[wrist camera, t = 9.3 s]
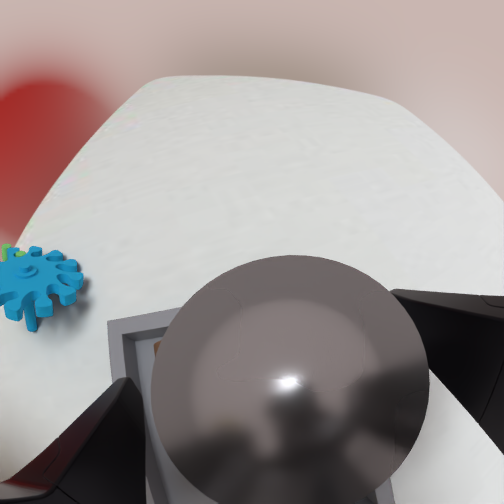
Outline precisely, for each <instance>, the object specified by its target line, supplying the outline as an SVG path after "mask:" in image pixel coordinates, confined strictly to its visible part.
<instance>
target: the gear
mask: <svg viewBox="0 0 504 504" xmlns="http://www.w3.org/2000/svg"><path fill="white" fill-rule="evenodd" d="M2 258H3V261H5V262H0V306H2V305H4V310H5V315H6V317H7V318H8V319H10V320H14V321H20V320H21V319H22V317H23V310H24V314H25V320H26V325H27V330H28V331H30V332H34V331H36V330H37V322H36V316H35V310H36V315H37V317H50V316H53V304H52V301H51V299H49V298H48V295H50V294H53V293H54V294H58V295H59V297H60V303H61V304H62V305H64V306H67V305H70V304H72V303H74V302H75V301H76V290H79V289H81V287H82V286H83V273H80V272H77V262H76V260H74V259H69V260H65V261H63V254H62V253H61V252H59V251H58V250H53V251H51V252H50V253H48V254H46V255H44V256H42V248H40V247H36V246H32V247H30V248H29V252H28V253H27V254H26V252H24V251H20V250H19V248H11V245H10V244H3V245H2ZM62 283H66V284H68V285H69V286H66V285H64V284H62ZM34 301H35V308H34Z"/></svg>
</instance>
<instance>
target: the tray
mask: <svg viewBox="0 0 504 504" xmlns="http://www.w3.org/2000/svg"><path fill="white" fill-rule="evenodd" d="M181 308H182V307H180V308H175V309H170V310H164V311H159V312H154V313H149V314H144V315H138V316H133V317H127V318H122V319H116V320H110V321H107V325H108V342H109V355H110V365H111V375H112V383H114V382H115V381H116V380H117V379H118V378H122V377H127V376H128V377H130V378H131V379H132V380H133V382H134V383H135V385H136V387H137V388H138V390H139V391H140V393H141V395H142V398H143V407H144V420H145V432H146V501H147V504H219V503H217V502H215V501H214V500H212V499H210V498H208V497H207V496H206V495H204V494H203V493H202V492H200V491H199V490H198V489H197V488H195V487H194V486H193V485H192V484H191V483H190V482H189V481H188V480H187V479H186V478H185V477H184V476H183V475H182V474H181V473H180V472H179V470H178V469H177V468H176V466H175V465H174V464H173V462H172V461H171V459H170V458H169V456H168V454H167V452H166V451H165V449H164V447H163V445H162V443H161V441H160V438H159V435H158V432H157V429H156V426H155V423H154V418H153V413H152V407H151V389H150V388H151V378H152V370H153V365H154V361H155V353H154V346H153V345H154V344H155V343H156V342H158V341H160V340H162V338H163V336H164V334H165V332H166V330H167V328H168V327H169V325H170V323H171V321H172V320H173V319H174V317H175V316H176V315H177V313H178V312H179V310H180V309H181ZM354 504H395V501H394V496H393V491H392V485H391V481H390V477H389V478H388V479H387V480H386V481H385V482H384V483H383V484H382V485H380V486H379V487H378V488H377V489H376V490H374V491H373V492H372V493H370V494H369V495H367V496H365V497H364V498H362V499H361V500H359V501H357V502H356V503H354Z"/></svg>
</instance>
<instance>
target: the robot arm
mask: <svg viewBox="0 0 504 504" xmlns="http://www.w3.org/2000/svg"><path fill="white" fill-rule="evenodd" d="M389 292H390V293H391V294H392V295H393V296H394V297H395V298H396V299H397V300H398V301H399V302H400V304H401V305H402V306H403V307H404V308H405V310H406V311H407V313H408V314H409V316H410V317H411V319H412V320H413V322H414V324H415V326H416V328H417V330H418V332H419V334H420V337H421V340H422V343H423V346H424V349H425V352H426V357H427V362H428V367H429V369H430V370H431V371H432V372H433V373H434V374H435V375H436V377H437V378H438V379H439V380H440V381H441V382H442V383H443V384H444V385H445V386H446V388H447V389H448V390H449V391H450V392H451V393H452V394H453V395H454V396H455V398H456V399H457V400H458V401H459V402H460V403H461V404H462V406H463V407H464V408H465V409H466V410H467V411H468V412H469V414H470V415H471V416H472V417H473V418H474V419H475V421H476V422H477V423H479V425H480V427H481V428H482V429H483V430H484V431H485V433H486V434H487V435H488V436H489V437H490V439H491V440H492V441H493V442H494V443H495V445H496V446H497V447H498V448H499V450H500V451H501V452H502V453H503V455H504V296H487V295H480V296H479V295H471V294H457V293H443V292H430V291H417V290H405V289H393V290H391V291H389ZM0 504H147V501H146V432H145V420H144V407H143V398H142V395H141V393H140V391H139V390H138V388H137V387H136V385H135V383H134V382H133V380H132V379H131V378H130V377H128V376H127V377H122V378H118V379H117V380H116V381H115V382H114V383H113V384H112V385H111V386H110V387H109V388H108V389H107V390H106V391H105V392H104V393H103V394H102V395H101V396H100V397H99V398H98V399H97V400H95V401H94V402H93V403H92V404H91V405H90V406H89V407H88V408H87V409H86V410H85V411H84V412H83V413H82V414H81V415H80V416H79V417H78V418H77V419H76V420H75V421H74V422H73V423H72V424H71V425H70V426H69V427H68V428H67V429H66V430H65V431H64V432H63V433H62V434H61V435H60V436H59V438H56V439H55V440H54V441H53V442H52V443H51V444H50V445H49V446H48V447H47V448H46V449H45V450H44V451H43V452H42V453H40V454H39V455H38V456H37V457H36V458H35V459H33V460H32V461H31V462H30V463H29V464H27V465H26V466H25V467H24V468H22V469H21V470H20V471H19V472H18V473H16V474H15V475H14V476H13V477H11V478H10V479H8V480H6V481H3V482H0Z"/></svg>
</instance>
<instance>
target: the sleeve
mask: <svg viewBox="0 0 504 504" xmlns="http://www.w3.org/2000/svg"><path fill="white" fill-rule="evenodd" d="M429 385H430V384H429V367H428V362H427V357H426V352H425V349H424V346H423V343H422V340H421V337H420V334H419V332H418V330H417V328H416V326H415V324H414V322H413V320H412V319H411V317H410V316H409V314H408V313H407V311H406V310H405V308H404V307H403V306H402V305H401V304H400V302H399V301H398V300H397V299H396V298H395V297H394V296H393V295H392V294H391V293H390V292H389V291H388V290H387V289H386V288H385V287H383V286H382V285H381V284H380V283H378V282H377V281H375V280H374V279H372V278H371V277H370V276H368V275H366V274H364V273H362V272H361V271H359V270H357V269H355V268H353V267H350V266H348V265H345V264H342V263H340V262H337V261H333V260H329V259H325V258H320V257H312V256H300V255H286V256H277V257H269V258H265V259H260V260H256V261H252V262H249V263H246V264H244V265H241V266H238V267H236V268H234V269H232V270H230V271H227V272H225V273H223V274H221V275H220V276H218V277H217V278H215V279H214V280H212V281H210V282H209V283H207V284H206V285H205V286H204V287H203V288H201V289H200V290H199V291H198V292H196V293H195V294H194V295H193V296H192V297H191V298H190V299H189V300H188V301H187V302H186V303H185V304H184V306H183V307H182V308H181V309H180V310H179V312H178V313H177V315H176V316H175V317H174V319H173V320H172V321H171V323H170V325H169V327H168V328H167V330H166V332H165V334H164V336H163V338H162V340H161V343H160V345H159V348H158V351H157V353H156V357H155V361H154V365H153V370H152V378H151V388H150V389H151V407H152V413H153V418H154V423H155V426H156V429H157V432H158V435H159V438H160V441H161V443H162V445H163V447H164V449H165V451H166V452H167V454H168V456H169V458H170V459H171V461H172V462H173V464H174V465H175V466H176V468H177V469H178V470H179V472H180V473H181V474H182V475H183V476H184V477H185V478H186V479H187V480H188V481H189V482H190V483H191V484H192V485H193V486H194V487H195V488H197V489H198V490H199V491H200V492H202V493H203V494H204V495H206V496H207V497H208V498H210V499H212V500H214V501H215V502H217V503H219V504H354V503H356V502H357V501H359V500H361V499H362V498H364V497H365V496H367V495H369V494H370V493H372V492H373V491H374V490H376V489H377V488H378V487H379V486H380V485H382V484H383V483H384V482H385V481H386V480H387V479H388V478H389V477H390V476H391V475H392V474H393V473H394V472H395V471H396V470H397V469H398V467H399V466H400V465H401V464H402V462H403V461H404V459H405V458H406V457H407V455H408V454H409V452H410V451H411V449H412V447H413V445H414V443H415V441H416V439H417V437H418V435H419V433H420V430H421V427H422V424H423V422H424V419H425V415H426V410H427V405H428V399H429Z"/></svg>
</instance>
